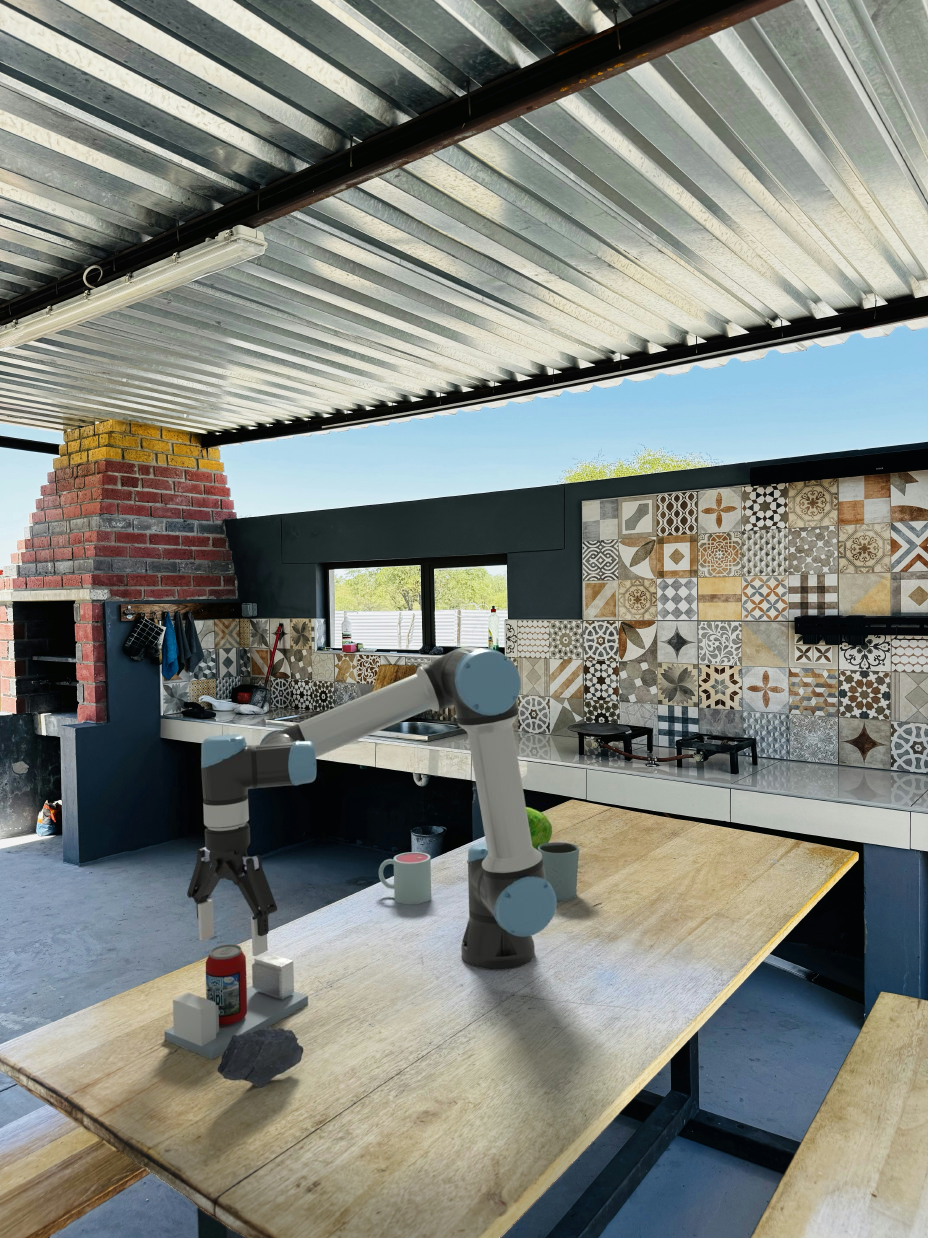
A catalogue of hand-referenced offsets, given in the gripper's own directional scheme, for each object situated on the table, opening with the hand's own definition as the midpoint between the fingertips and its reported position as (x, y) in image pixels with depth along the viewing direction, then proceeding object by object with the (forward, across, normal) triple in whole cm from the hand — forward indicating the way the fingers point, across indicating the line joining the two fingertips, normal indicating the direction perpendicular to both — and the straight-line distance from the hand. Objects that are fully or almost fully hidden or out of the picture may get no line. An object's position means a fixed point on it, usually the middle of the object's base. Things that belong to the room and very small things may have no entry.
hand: (232, 946), depth 146 cm
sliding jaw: (+12, 0, -9) cm, 15 cm away
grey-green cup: (+16, -20, -86) cm, 90 cm away
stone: (+14, -18, +11) cm, 26 cm away
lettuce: (+16, +6, -113) cm, 114 cm away
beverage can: (+12, 0, +2) cm, 13 cm away
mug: (+15, +14, -66) cm, 69 cm away
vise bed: (+14, 0, -1) cm, 14 cm away
